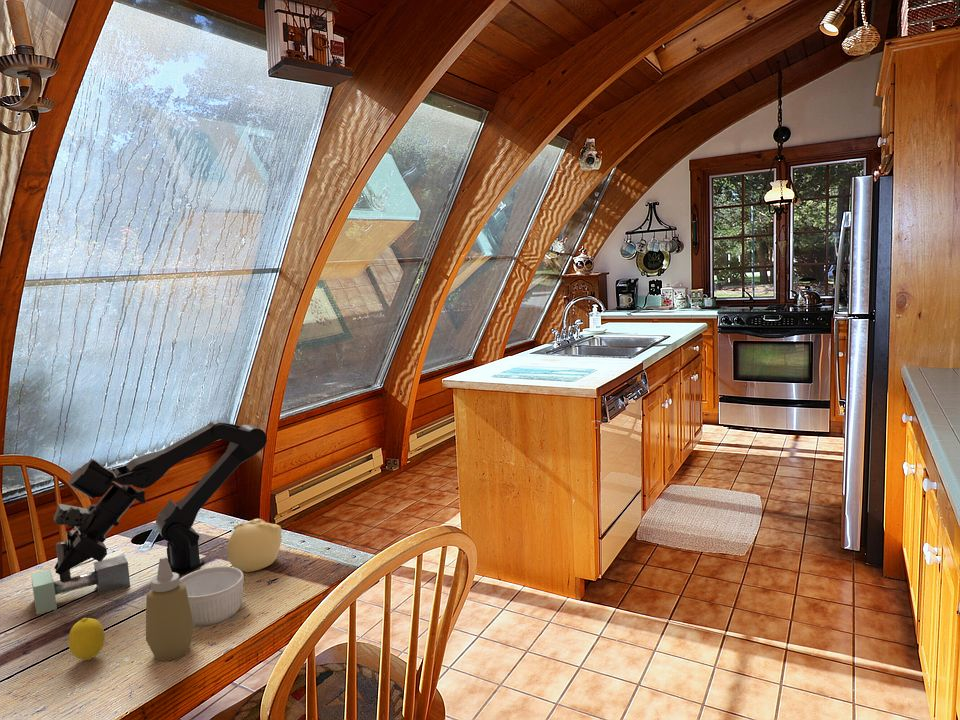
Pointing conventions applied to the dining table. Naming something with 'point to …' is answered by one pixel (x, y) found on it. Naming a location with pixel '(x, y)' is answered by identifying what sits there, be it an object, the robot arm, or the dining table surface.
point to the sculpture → (254, 545)
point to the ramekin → (214, 593)
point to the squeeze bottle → (168, 615)
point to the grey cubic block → (112, 574)
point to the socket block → (43, 591)
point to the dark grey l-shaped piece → (66, 580)
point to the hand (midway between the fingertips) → (56, 571)
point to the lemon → (86, 638)
